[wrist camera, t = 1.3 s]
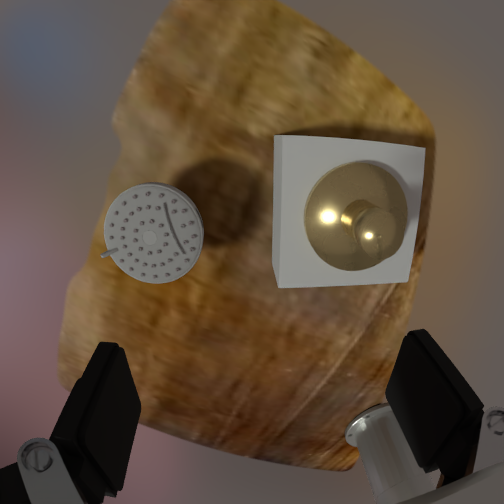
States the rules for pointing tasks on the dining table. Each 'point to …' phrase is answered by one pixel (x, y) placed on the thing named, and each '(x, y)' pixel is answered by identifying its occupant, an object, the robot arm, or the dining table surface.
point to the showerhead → (153, 232)
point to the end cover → (355, 216)
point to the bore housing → (296, 193)
